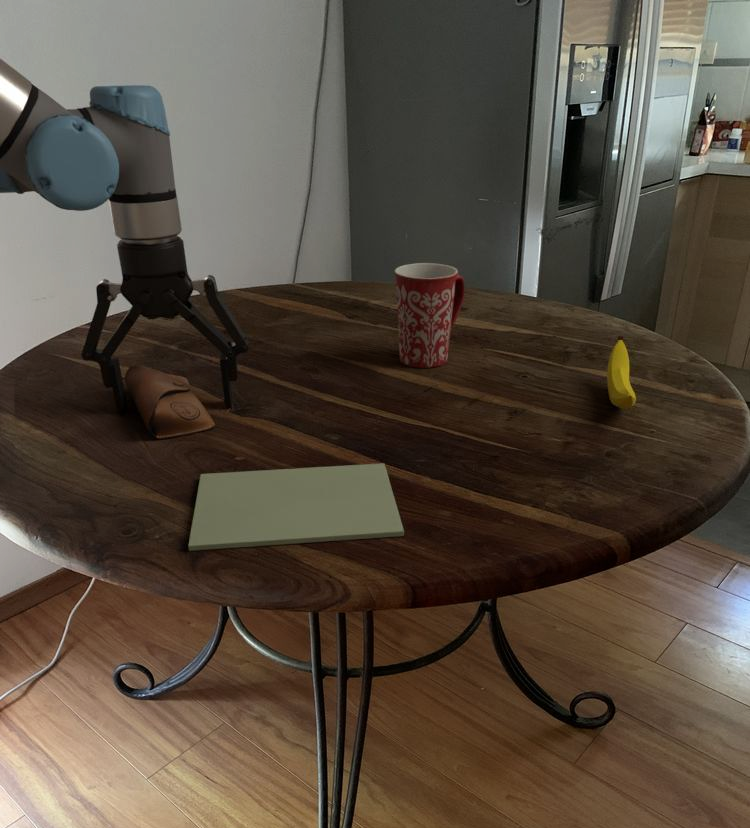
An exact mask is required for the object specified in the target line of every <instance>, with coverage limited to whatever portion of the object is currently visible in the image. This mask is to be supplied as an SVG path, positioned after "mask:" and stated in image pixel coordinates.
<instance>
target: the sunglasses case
mask: <svg viewBox="0 0 750 828" xmlns="http://www.w3.org/2000/svg"><path fill="white" fill-rule="evenodd" d="M124 383H125V386H126V388H127V390H128V392H129V393H130V396H131V398H132V400H133V402H134V404H135V406H136V408H137V411H138V412H139V415H140V417H141V419H142V421H143V422H144V426H145V428H146V429H147V431H148V433H150V434H151V435H152V436H153V437H154V438H156V439H158V440H165V439H170V438H180V437H184V436H190V435H192V434H198V433H201V432H204V431H208V430H210V429H212V428H214V427H216V424H215V421H214V419H213V417H212V416H211V414H210V413H209V411H208V410H207V409H206V407H205V406H204V405H203V404H202V402H201V400H200V399H199V397H198V395H196V393H195V391H194V390H193V388H192V386H191V385H190V382H189V380H188V378H187V377H184V376H182V375H175V374H169V373H165V372H163V371H161V370H158V369H155V368H152V367H148V366H145V365H139V364H133V365H130V366H129V368H127V370H126V372H125V374H124Z"/></svg>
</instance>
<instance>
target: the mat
mask: <svg viewBox="0 0 750 828" xmlns="http://www.w3.org/2000/svg"><path fill="white" fill-rule="evenodd" d="M198 481H199V482H198V488H197V493H196V498H195V505H194V511H193V516H192V521H191V528H190V533H189V538H188V540H189V541H188V545H187V548H188V551H189V552H193V551H194V552H195V551H206V550H222V549H224V550H225V549H237V548H251V547H253V548H254V547H266V546H282V545H295V544H307V543H308V544H310V543H323V542H324V543H325V542H337V541H338V542H339V541H352V540H353V541H354V540H366V539H367V540H368V539H381V538H395V537H404V536H405V530H404V527H403V526H404V525H403V523H402V520H401V519H402V518H401V516H400V513H399V509H398V505H397V503H396V498H395V495H394V491H393V489H392V485H391V482H390V477H389V475H388V471H387V467H386V464H385V462H384V463H383V462H382V463H381V462H380V463H367V464H366V463H365V464H352V465H351V464H349V465H334V466H333V465H332V466H331V465H329V466H315V467H296V468H281V469H266V470H265V469H264V470H247V471H246V470H245V471H230V472H213V473H211V472H210V473H201V474H200V476H199V480H198Z"/></svg>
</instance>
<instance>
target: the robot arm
mask: <svg viewBox="0 0 750 828" xmlns="http://www.w3.org/2000/svg"><path fill="white" fill-rule="evenodd" d="M89 90H90V91H89V100H90V101H89V102H88V104H89V106H86V107H85V106H84V107H80V108H79V107H77V108H68V109H67V108H65V107H64V106H63V105H61V104H60V103H59V102H57V101H56V100H55V99H54V98H52V97H51V96H49V95H48V94H47V93H46V92H44V91H43V90H42V89H40V88H38V87H37V86H35V85H34V84H33V83H32V82H31V81H30V80H29V79H28V78H27V77H26V76H24V75H22V74H21V73H20V72H19V71H18V70H17V69H15V68H13V67H12V65H10V64H8V63H7V62H6V61H4V60H3V59H2V58H0V194H12V193H13V194H14V193H16V194H17V195H23V194H25V193H30V192H31V193H32V192H35V193H36V194H38V195H39V196H40V197H41V198H42V199H44V200H45V201H47V202H49V203H50V204H52V205H53V206H55V207H57V208H59V209H61V210H65V211H74V212H75V211H76V212H84V211H90V210H95V209H97V208H99V207H101V206H102V205H104V204H105V203H106V202H107V201H108V204H109V209H110V210H109V211H110V215H111V216H110V217H111V223H112V227H113V233H114V236H115V237H117V238H119V239H120V240H118V241H117V242H118V243H117V244H116V248H117V255H118V259H119V266H120V271H121V276H122V280H121V282H113V281H112V282H111V281H110V280H108V279H106V278H103V279H101V280H100V282H98V284H97V285H96V287H95V288H96V289H95V291H96V306H95V309H94V313H93V316H92V320H91V322H90V324H89V329H88V332H87V336H86V338H85V341H84V343H83V344H84V345H83V348H82V352H81V355H80V356H81V359H82V360H84V361H87V362H88V361H93V362H96V363H97V364H98V366H99V369H100V374H101V378H102V383H103V386H104V387H105V389H109V388H112V392H113V397H114V403H115V408H116V412H117V415H124V414H125V413H126V410H127V408H128V401H127V396H126V391H125V387H124V380H123V377H122V371H121V366H120V365H121V364H120V361H119V357H112V356H114V354H115V353H116V351H117V350H118V348H119V346H121V343H122V342H123V341H124V339H125V338H126V336H127V335H128V333H129V332H130V330H131V329H132V327H133V326H134V325H135V323H136V322H137V320H138V319H139V318H140V316H142V317H143V318H145V319H147V320H156V319H159V318H163V319H168V320H169V319H175V317H178V316H180V317H181V318H182V319H183V320H184V321H186V322H188V323H190V325H192V326H193V327H194V328H195V330H197V331H198V332H199V333H200V334H201V335H202V336H203V337H204V338H205V339H206V340H208V341H209V342H210V343H211V344H212V345H213V346H214V347H215V349H217V350H218V352H220V356H219V366H220V374H221V383H222V388H223V390H222V391H223V398H224V406H225V409H230V408H232V406H233V394H232V385H231V382H236V381H237V380H238V374H239V372H238V361H237V356H238V355H241V354H245V353H247V352H248V351H249V346H250V340H249V339H248V337H247V336H246V334H245V332H244V331H243V329H242V328H241V325H240V324H239V323H238V322H237V320H236V318H235V317H234V315H233V313H232V312H231V311H230V308H229V307H228V306H227V304H226V303H225V301H224V300H223V298H222V296H221V295H220V293H219V289H218V286H217V282H216V278H215V276H214V275H212V274H207V275H206V277H205V278H200V279H191V277H190V275H189V272H188V266H187V258H186V250H185V243H184V240H183V239H182V238H181V237H180V236H179V235H180V234H181V233H182V231H183V229H182V222H181V221H182V220H181V214H180V208H179V207H180V206H179V199H178V195H177V190H176V182H175V173H174V166H173V157H172V148H171V139H170V136H171V131H170V129H169V125H168V119H167V114H166V108H165V105H164V100H163V97H162V95H161V92H160V91H159V90H158V89H157V88H155V87H154V86H151V85H136V84H135V85H134V84H133V85H97V86H96V85H95V86H93V87H91V89H89ZM194 291H195V292H197V293H198V294H199V295H200V296H201V297H202V298H204V299H206V300H207V302H208V304H209V306H210V307H211V309H212V311H213V312H214V313H215V315H216V316H217V318H218V320H219V321H220V323H221V324H222V327H224V329H225V331H226V332H227V334H228V335H229V336H230V338H231V340H232V341H233V342H232V341H231V340H230V339H229V338H227V336H225V335H224V333H222V332H221V331H220V330H219V329H218V328H217V327H216V325H214V324H213V323H212V322H211V321H210V320H209V319H208V317H206V316H205V315H204V314H203V313H202V312H201V311H199V309H198V308H197V306H196V305H195V304H194V303H193V302H191V300H189V299H190V298H191V296H192V294H193V292H194ZM119 294H121V295H122V297H123V298H124V299H125V300H127V302H128V303H129V304H130V305H131V307H130V308H129V310H128V312H127V313H126V314H125V316H124V318H122V320H121V322H120V323H119V325H118V327H117V328H116V329H115V331H114V333H113V334H112V335H111V337H110V339H109V340H108V341H107V343H106V344H105V346H104V348H102V349H101V348H98V344H99V341H100V338H101V335H102V332H103V330H104V326H105V323H106V320H107V316H108V313H109V311H110V307H111V304H112V302H114V301H115V300H116V299H117V298H118V295H119Z"/></svg>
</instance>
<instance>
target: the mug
mask: <svg viewBox="0 0 750 828" xmlns="http://www.w3.org/2000/svg"><path fill="white" fill-rule="evenodd" d="M393 272H394V276H395V287H396V289H395V290H396V307H397V328H398V349H399V350H398V351H399V360H400V362H401V363H402V364H404V365H405V366H408V367H412V368H419V369H429V368H436V367H440V366H443V365H445V363H447V361H448V357H449V348H450V339H451V338H450V337H451V332H452V329H454V328H453V327H454V326H455V323H456V321H457V319H458V316H459V314H460V312H461V309H462V306H463V303H464V299H465V293H466V291H465V290H466V284H465V279H464V278H463V276H461V275H459V274H458V273H459V271H458V269H457V268H456V267H454V266H451V265H447V264H443V263H434V262H433V263H432V262H419V263H418V262H417V263H409V264H404V265H401V266H398V267H396V268H395V269H394V271H393Z"/></svg>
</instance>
